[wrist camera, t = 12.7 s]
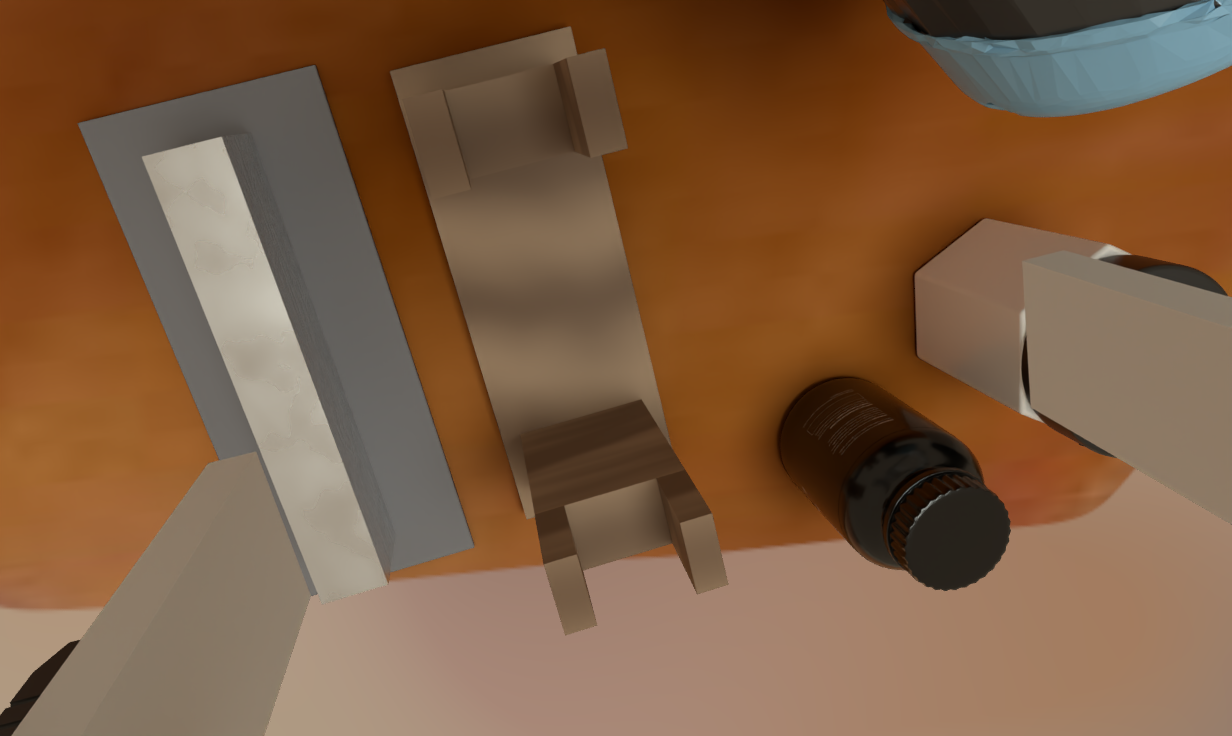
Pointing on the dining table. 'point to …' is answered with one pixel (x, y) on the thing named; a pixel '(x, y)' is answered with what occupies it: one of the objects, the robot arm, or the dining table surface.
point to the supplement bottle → (894, 484)
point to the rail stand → (554, 304)
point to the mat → (334, 275)
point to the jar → (1004, 307)
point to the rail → (277, 358)
